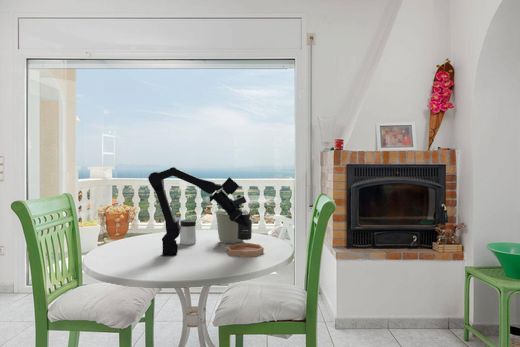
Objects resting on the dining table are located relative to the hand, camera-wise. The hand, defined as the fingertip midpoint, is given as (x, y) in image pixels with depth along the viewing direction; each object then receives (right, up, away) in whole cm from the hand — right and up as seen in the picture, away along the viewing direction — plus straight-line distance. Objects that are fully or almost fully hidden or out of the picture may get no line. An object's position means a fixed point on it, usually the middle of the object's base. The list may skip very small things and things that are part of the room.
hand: (247, 224), depth 174 cm
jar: (-32, -13, +20) cm, 40 cm away
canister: (-9, -13, +23) cm, 28 cm away
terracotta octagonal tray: (-1, -13, 0) cm, 13 cm away
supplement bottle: (-1, -7, 0) cm, 7 cm away
